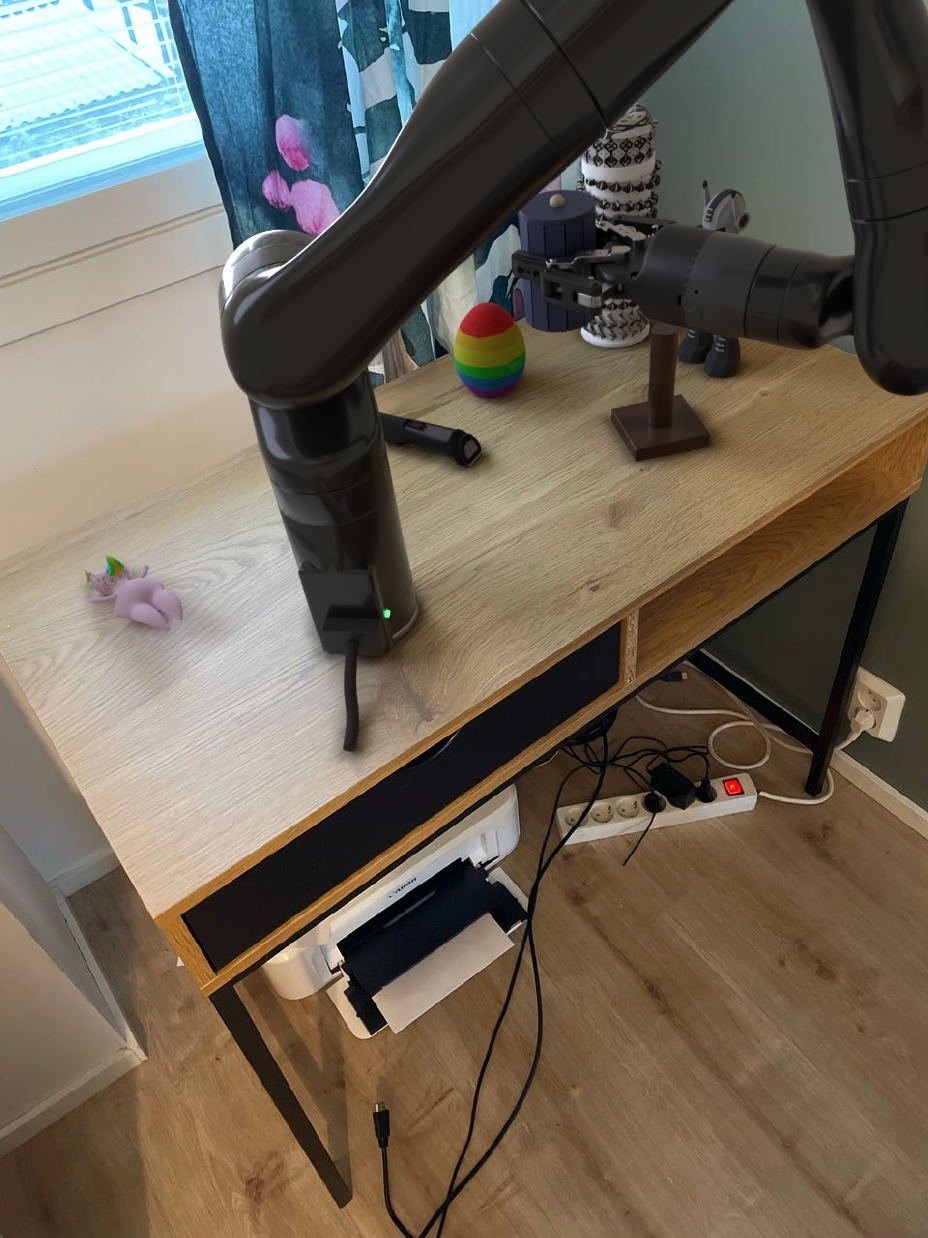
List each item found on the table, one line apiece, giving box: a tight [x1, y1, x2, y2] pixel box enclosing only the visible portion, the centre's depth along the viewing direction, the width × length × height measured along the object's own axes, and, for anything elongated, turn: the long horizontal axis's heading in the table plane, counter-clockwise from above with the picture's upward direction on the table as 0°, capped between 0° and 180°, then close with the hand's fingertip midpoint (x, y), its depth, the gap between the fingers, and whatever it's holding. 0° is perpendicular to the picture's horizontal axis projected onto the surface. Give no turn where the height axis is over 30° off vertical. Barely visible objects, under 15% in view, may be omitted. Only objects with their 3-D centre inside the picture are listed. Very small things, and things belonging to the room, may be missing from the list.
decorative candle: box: [575, 102, 662, 349], centre depth 102 cm, size 9×9×25 cm
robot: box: [677, 179, 751, 379], centre depth 97 cm, size 20×5×20 cm, turn 34°
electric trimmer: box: [379, 411, 482, 467], centre depth 98 cm, size 4×16×3 cm, turn 59°
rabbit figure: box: [83, 555, 184, 631], centre depth 82 cm, size 6×6×15 cm
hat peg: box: [610, 322, 711, 462], centre depth 91 cm, size 8×8×12 cm
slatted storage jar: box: [518, 189, 596, 334], centre depth 79 cm, size 6×6×11 cm
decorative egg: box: [453, 301, 527, 398], centre depth 102 cm, size 8×8×10 cm
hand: (536, 246), depth 80 cm, fingers closed on slatted storage jar, 6 cm apart
